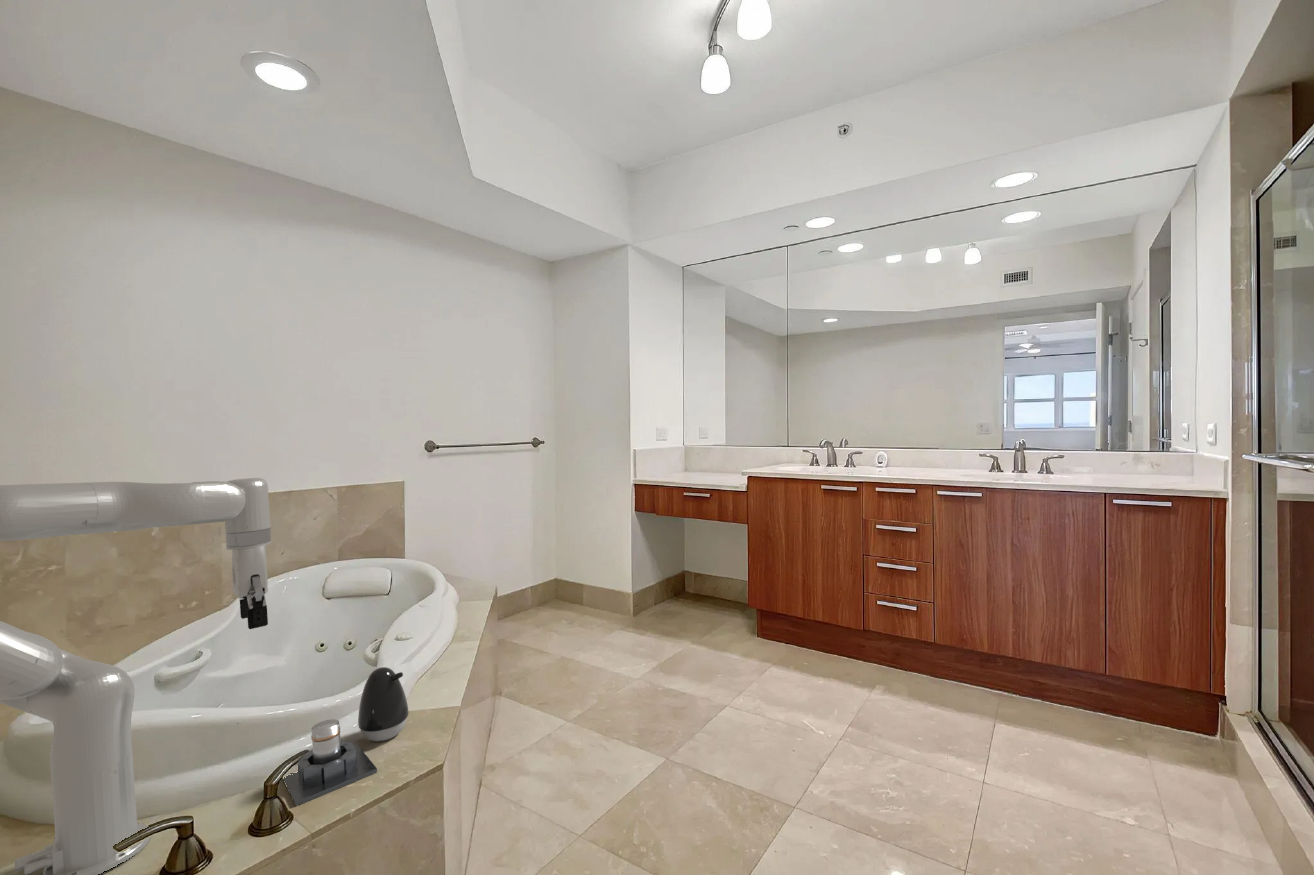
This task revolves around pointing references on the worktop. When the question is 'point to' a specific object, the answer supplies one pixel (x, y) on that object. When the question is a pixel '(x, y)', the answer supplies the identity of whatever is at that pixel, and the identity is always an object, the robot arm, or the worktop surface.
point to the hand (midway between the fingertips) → (254, 621)
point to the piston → (326, 742)
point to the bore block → (328, 773)
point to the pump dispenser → (382, 705)
